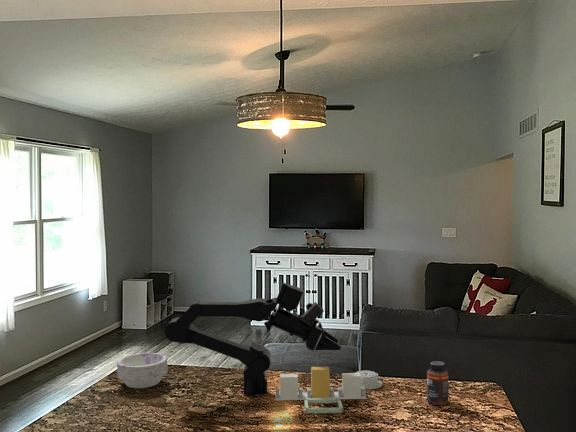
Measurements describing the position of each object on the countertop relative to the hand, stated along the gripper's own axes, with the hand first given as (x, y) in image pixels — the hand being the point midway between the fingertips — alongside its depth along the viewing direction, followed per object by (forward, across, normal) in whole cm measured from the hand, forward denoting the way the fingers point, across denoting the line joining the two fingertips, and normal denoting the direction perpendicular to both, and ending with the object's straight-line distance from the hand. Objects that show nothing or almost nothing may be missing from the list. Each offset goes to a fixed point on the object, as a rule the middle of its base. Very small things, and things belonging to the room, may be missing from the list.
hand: (338, 345), depth 172 cm
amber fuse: (+1, -2, +15) cm, 15 cm away
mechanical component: (+14, +9, +10) cm, 19 cm away
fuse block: (+1, -2, +16) cm, 16 cm away
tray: (+2, -11, +16) cm, 20 cm away
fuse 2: (+9, -2, +12) cm, 15 cm away
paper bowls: (-49, +12, +38) cm, 63 cm away
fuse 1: (-8, -2, +19) cm, 20 cm away
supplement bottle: (+31, -5, +3) cm, 32 cm away
